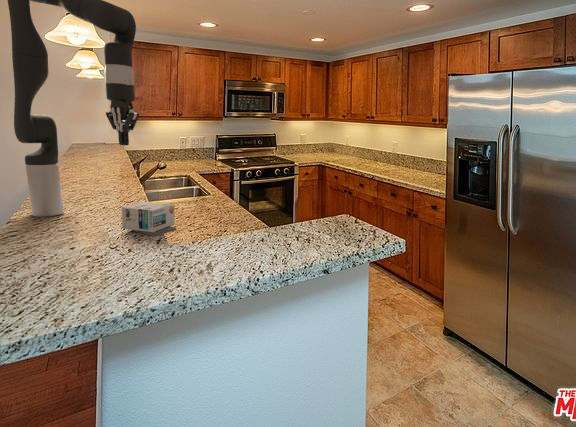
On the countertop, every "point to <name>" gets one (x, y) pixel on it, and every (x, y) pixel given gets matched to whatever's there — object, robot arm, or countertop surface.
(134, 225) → the light bulb box
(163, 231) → the plate
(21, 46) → the robot arm
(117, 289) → the countertop surface
